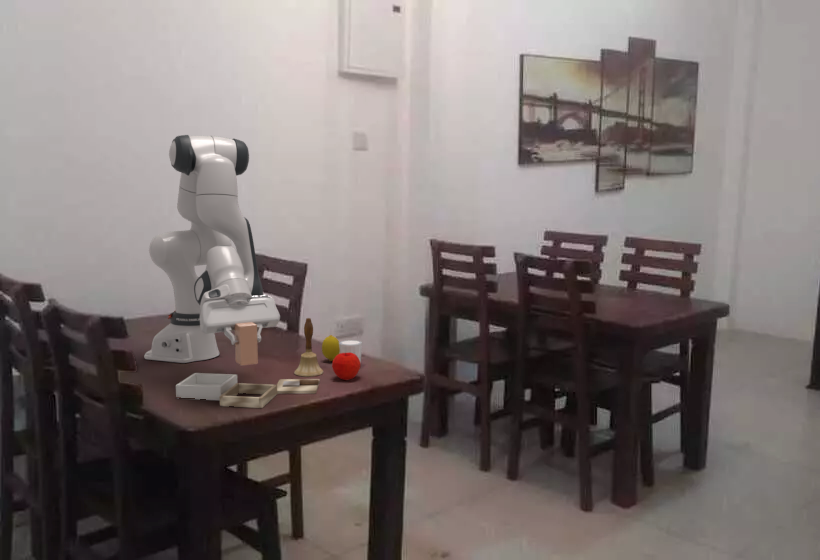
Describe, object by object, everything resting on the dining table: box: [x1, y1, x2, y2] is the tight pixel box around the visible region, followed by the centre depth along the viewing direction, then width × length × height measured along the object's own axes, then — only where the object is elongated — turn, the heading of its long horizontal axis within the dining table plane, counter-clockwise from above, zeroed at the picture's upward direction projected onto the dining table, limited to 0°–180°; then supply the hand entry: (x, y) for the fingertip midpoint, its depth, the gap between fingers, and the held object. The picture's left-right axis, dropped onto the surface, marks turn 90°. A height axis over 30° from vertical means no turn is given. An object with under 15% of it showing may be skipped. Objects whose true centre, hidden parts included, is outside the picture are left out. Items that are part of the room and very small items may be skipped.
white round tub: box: [339, 339, 363, 366], centre depth 247 cm, size 7×7×7 cm
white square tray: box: [175, 372, 238, 401], centre depth 219 cm, size 12×12×4 cm
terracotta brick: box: [234, 322, 259, 367], centre depth 211 cm, size 4×4×10 cm
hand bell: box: [294, 317, 324, 378], centre depth 238 cm, size 8×8×16 cm
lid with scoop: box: [276, 378, 321, 395], centre depth 224 cm, size 11×11×2 cm
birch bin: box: [219, 382, 278, 409], centre depth 213 cm, size 11×12×2 cm
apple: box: [331, 353, 361, 381], centre depth 233 cm, size 8×8×7 cm
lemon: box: [321, 334, 340, 362], centre depth 252 cm, size 6×6×8 cm
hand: (246, 342), depth 210 cm, fingers closed on terracotta brick, 4 cm apart
